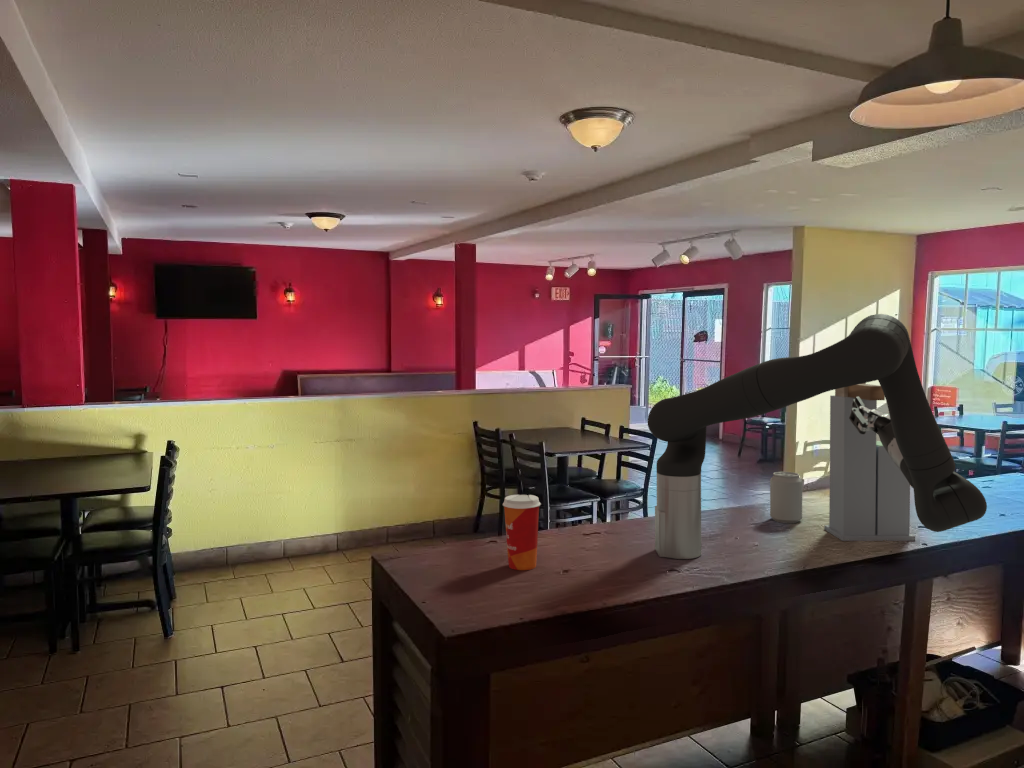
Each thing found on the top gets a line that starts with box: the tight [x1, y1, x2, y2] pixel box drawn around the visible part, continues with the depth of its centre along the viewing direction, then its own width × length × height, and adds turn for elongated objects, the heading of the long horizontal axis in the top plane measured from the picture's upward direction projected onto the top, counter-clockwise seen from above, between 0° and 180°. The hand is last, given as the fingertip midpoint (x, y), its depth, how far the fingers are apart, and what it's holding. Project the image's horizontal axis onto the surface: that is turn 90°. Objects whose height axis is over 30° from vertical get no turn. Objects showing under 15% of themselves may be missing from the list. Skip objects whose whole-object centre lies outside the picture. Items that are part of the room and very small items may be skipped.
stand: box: [824, 395, 916, 542], centre depth 162 cm, size 16×10×32 cm, turn 87°
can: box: [769, 471, 803, 524], centre depth 178 cm, size 8×8×12 cm
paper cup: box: [502, 494, 542, 571], centre depth 143 cm, size 8×8×14 cm
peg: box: [834, 383, 886, 401], centre depth 158 cm, size 5×16×5 cm, turn 177°
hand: (876, 400), depth 150 cm, fingers open, 8 cm apart
